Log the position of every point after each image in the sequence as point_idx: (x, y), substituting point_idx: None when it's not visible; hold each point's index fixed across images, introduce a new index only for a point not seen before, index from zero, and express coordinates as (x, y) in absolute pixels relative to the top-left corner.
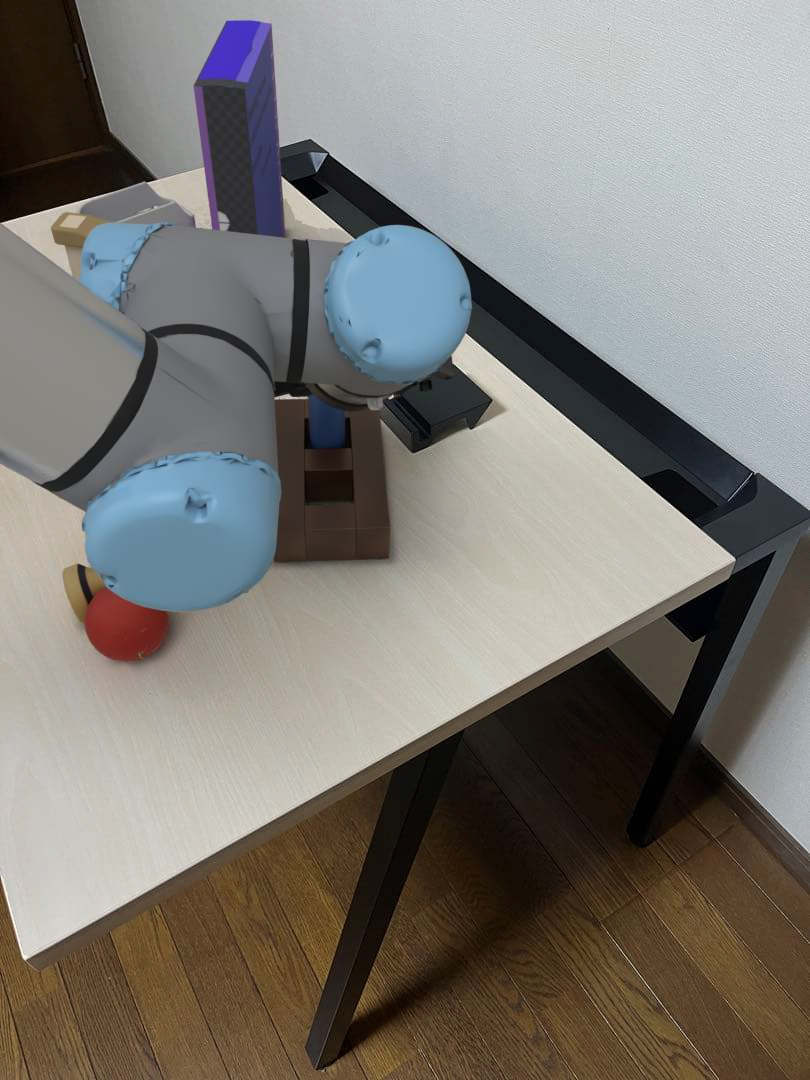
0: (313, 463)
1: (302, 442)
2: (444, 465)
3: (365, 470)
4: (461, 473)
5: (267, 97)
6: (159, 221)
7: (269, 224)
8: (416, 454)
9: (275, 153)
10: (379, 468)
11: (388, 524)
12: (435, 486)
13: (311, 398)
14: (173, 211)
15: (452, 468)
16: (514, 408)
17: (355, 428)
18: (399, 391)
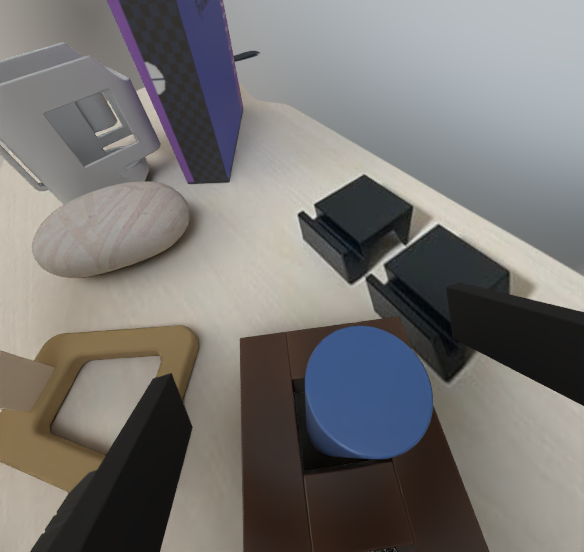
0: (328, 529)
1: (296, 452)
2: (504, 406)
3: (444, 546)
4: (538, 423)
5: None
6: (75, 85)
7: (222, 90)
8: (453, 385)
9: (219, 11)
10: (470, 532)
11: None
12: (512, 462)
13: (320, 440)
14: (92, 70)
15: (519, 412)
16: (543, 281)
17: None
18: (505, 365)
